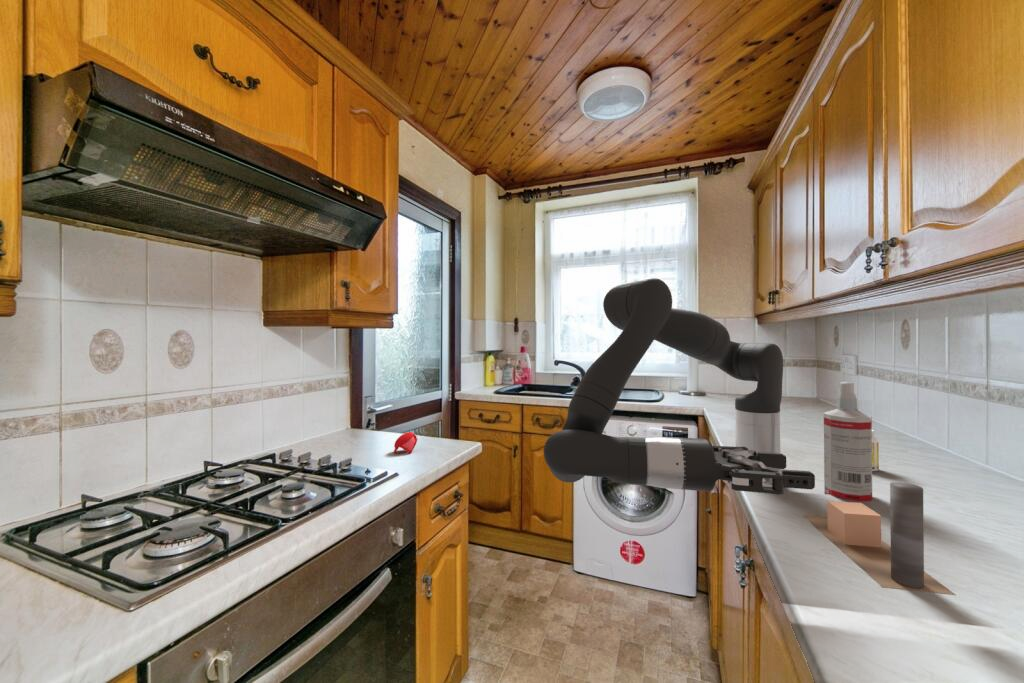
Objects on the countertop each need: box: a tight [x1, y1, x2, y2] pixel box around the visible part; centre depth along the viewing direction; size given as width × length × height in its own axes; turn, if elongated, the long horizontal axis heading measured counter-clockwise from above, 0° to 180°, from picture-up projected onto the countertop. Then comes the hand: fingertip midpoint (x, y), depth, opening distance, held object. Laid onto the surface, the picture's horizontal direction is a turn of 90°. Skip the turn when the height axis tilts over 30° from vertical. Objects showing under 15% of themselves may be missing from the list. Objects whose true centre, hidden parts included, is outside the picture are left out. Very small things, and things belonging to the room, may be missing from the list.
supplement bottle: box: [872, 429, 880, 472], centre depth 104 cm, size 6×6×10 cm
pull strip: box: [802, 481, 956, 596], centre depth 63 cm, size 22×8×14 cm, turn 167°
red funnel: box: [393, 431, 418, 454], centre depth 127 cm, size 8×6×6 cm
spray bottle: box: [823, 381, 873, 502], centre depth 84 cm, size 8×8×25 cm
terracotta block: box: [826, 500, 882, 547], centre depth 66 cm, size 5×5×5 cm
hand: (798, 470), depth 57 cm, fingers open, 8 cm apart
